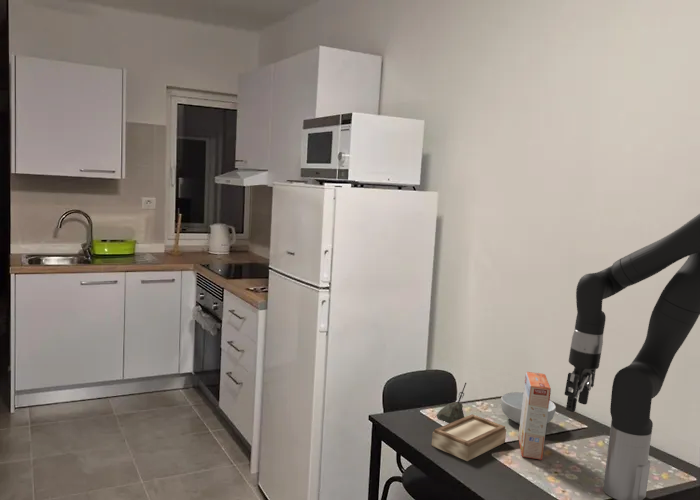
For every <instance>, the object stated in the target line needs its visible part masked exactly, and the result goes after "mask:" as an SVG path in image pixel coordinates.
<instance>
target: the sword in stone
mask: <svg viewBox="0 0 700 500" xmlns="http://www.w3.org/2000/svg"><path fill="white" fill-rule="evenodd" d="M466 385H467V382H465V383H464V385H463V388H462V390H461V391H460V392H459V393H458V401H453V402H451V403H450V402H449V403H447V404H446V405H445V406H444V407H442V409H440V410H439V411H438V413H437V414H436V418H437V420H440V421H442V422H444V421H445V422H444V423H448V424H449V423H452V422H454V421H457V420H459V419H462V418H464V417H465V415H464V410H463V403H462V402H461V400H462V399H463V398H464V396H465V393H464V391H465V388H466Z"/></svg>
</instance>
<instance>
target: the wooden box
mask: <svg viewBox="0 0 700 500" xmlns="http://www.w3.org/2000/svg"><path fill="white" fill-rule="evenodd" d="M431 434H432V435H431V438H432V439H431V447H433V448H436V449H438V450H441V451H443V452H445V453H448V454H449V455H451V456H455V457H456V458H459V459H461V460H463V461H466V462H469V461H471V460H473V459H475V458H476V457H478V456H480V455H483V454H484V453H486V452H489V451H490V450H493V449H494V448H496V447H498V446H501V445H502V444H504V443H506V436H507V429H506V425H502V424H499V423H497V422H494V421H491V420H490V419H489V420H488V419H486V418H484V417H481V416H478V415H475V414H473V413H472V414H469V415H466V416H464V418H462V419H459V420H457V421H454V422H452V423H448V424H445V425H443V426H440V427H437V428H436V429H434V431H432V433H431Z"/></svg>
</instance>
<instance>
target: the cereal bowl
mask: <svg viewBox="0 0 700 500" xmlns="http://www.w3.org/2000/svg"><path fill="white" fill-rule="evenodd" d="M523 394H524V391H511V392H507V393H504V394H502V395H501V399H500V407H501V410H502V413H503V414H504V415H505V416H506V417H507V418H508V419H510V420H511V421H513V422H514V423H516V424H518V425H519V426H520V419H521V411H522V403H523ZM556 409H557V407H556V404H555V403H554V401H552V400H550V401H549V408H548V417H547V424H548V423H550V422H551V421H552V420H553V419H554V416H555V414H556Z"/></svg>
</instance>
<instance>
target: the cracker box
mask: <svg viewBox="0 0 700 500" xmlns="http://www.w3.org/2000/svg"><path fill="white" fill-rule="evenodd" d="M524 379H525V380H524V388H523V392H524V394H523V403H522V411H521V419H520V425H519V428H518V435H517V436H518V443H519V449H520V453H521V456H522V458H527V459H528V458H529V459H534V460H540V461H542V460H543V455H544V448H545V439H546V432H547V425H548V423H547V417H548V408H549V401H551V392H552V389H551V386H550V383H549V380H548V378H547V375H546V374H545V373H539V372H530V371H526V372H525V377H524Z"/></svg>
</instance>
